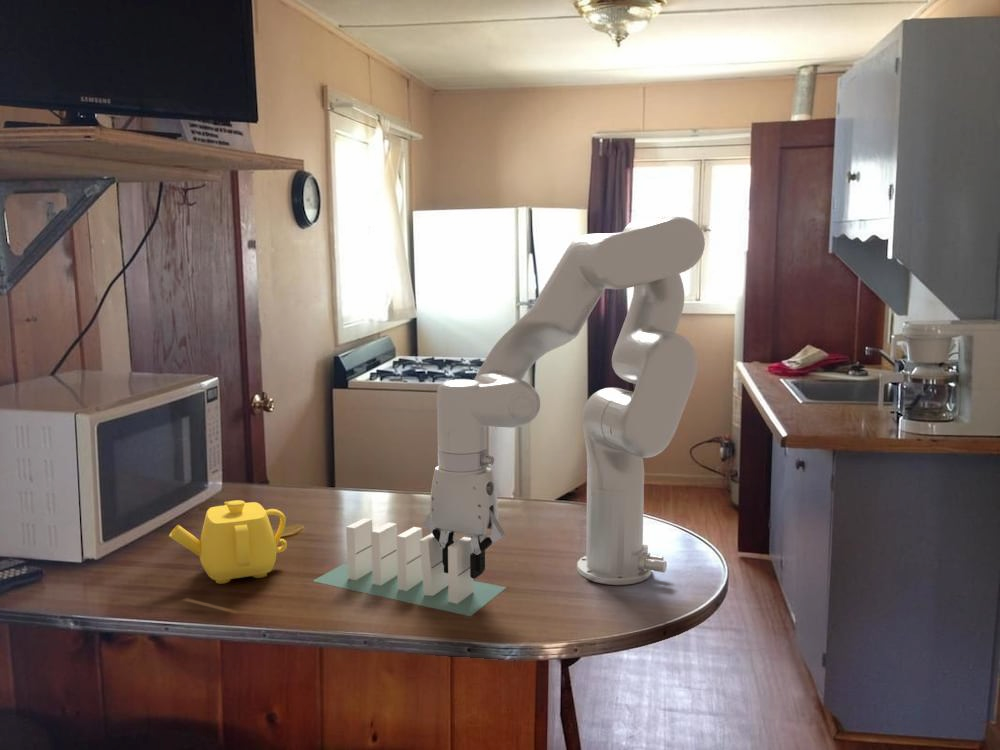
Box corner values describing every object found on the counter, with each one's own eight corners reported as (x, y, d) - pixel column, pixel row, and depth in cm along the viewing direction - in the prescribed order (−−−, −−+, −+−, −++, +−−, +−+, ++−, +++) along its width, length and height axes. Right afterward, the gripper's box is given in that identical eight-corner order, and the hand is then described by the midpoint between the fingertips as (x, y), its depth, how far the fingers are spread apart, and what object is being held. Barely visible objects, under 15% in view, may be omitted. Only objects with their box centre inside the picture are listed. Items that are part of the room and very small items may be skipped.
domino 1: (373, 570, 146) (372, 519, 145) (356, 580, 142) (354, 528, 141) (365, 568, 147) (364, 518, 146) (347, 578, 143) (346, 526, 141)
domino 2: (398, 575, 144) (396, 523, 143) (380, 585, 140) (379, 532, 138) (389, 573, 145) (388, 522, 143) (372, 583, 140) (371, 531, 139)
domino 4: (449, 584, 140) (444, 531, 139) (433, 596, 135) (428, 541, 134) (440, 583, 140) (435, 530, 139) (424, 594, 136) (419, 540, 135)
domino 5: (473, 592, 137) (473, 538, 136) (457, 603, 133) (457, 548, 131) (464, 590, 138) (464, 536, 136) (448, 601, 133) (447, 546, 132)
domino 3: (423, 580, 142) (422, 528, 140) (406, 591, 138) (405, 537, 136) (414, 578, 143) (413, 526, 141) (398, 589, 138) (396, 535, 137)
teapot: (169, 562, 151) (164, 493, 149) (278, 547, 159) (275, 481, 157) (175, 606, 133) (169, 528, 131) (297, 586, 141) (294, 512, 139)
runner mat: (506, 589, 139) (506, 587, 139) (470, 618, 128) (470, 616, 128) (355, 559, 152) (355, 557, 152) (312, 583, 142) (312, 581, 142)
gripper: (521, 460, 132) (522, 573, 134) (428, 449, 139) (430, 556, 142) (499, 472, 125) (500, 591, 128) (403, 459, 133) (405, 572, 135)
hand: (463, 571), depth 135 cm, fingers open, 4 cm apart
